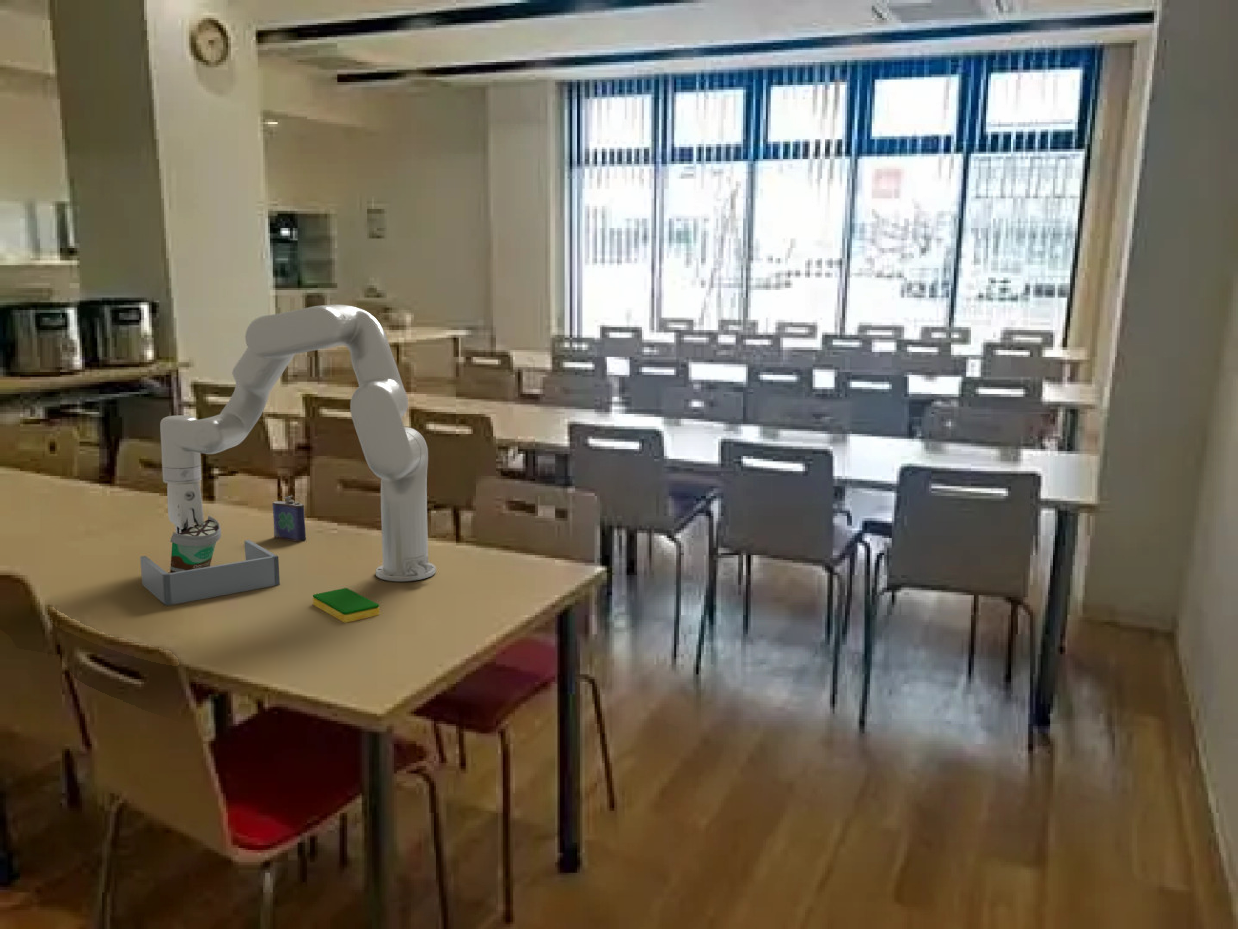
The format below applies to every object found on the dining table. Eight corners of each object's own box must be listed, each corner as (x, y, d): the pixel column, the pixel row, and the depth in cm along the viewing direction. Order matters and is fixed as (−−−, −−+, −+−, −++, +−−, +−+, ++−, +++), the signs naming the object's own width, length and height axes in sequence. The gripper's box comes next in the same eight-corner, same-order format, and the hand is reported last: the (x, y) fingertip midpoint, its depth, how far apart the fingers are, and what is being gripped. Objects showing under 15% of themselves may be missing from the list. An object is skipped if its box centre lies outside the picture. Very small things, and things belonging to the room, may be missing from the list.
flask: (271, 538, 236) (269, 495, 234) (280, 535, 239) (278, 493, 237) (301, 542, 232) (299, 499, 230) (309, 539, 235) (307, 496, 233)
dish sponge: (346, 599, 191) (346, 587, 191) (380, 616, 181) (380, 604, 181) (312, 606, 187) (312, 594, 186) (345, 625, 177) (344, 612, 176)
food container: (190, 586, 200) (197, 543, 197) (165, 575, 201) (171, 533, 198) (227, 565, 212) (234, 524, 208) (203, 555, 212) (210, 514, 209)
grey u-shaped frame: (279, 584, 199) (278, 556, 198) (166, 605, 185) (164, 575, 184) (250, 566, 212) (249, 539, 211) (142, 584, 198) (140, 556, 197)
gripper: (211, 478, 202) (215, 562, 205) (190, 466, 213) (193, 547, 217) (173, 481, 197) (177, 568, 201) (153, 469, 209) (158, 551, 212)
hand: (186, 557), depth 209 cm, fingers closed
